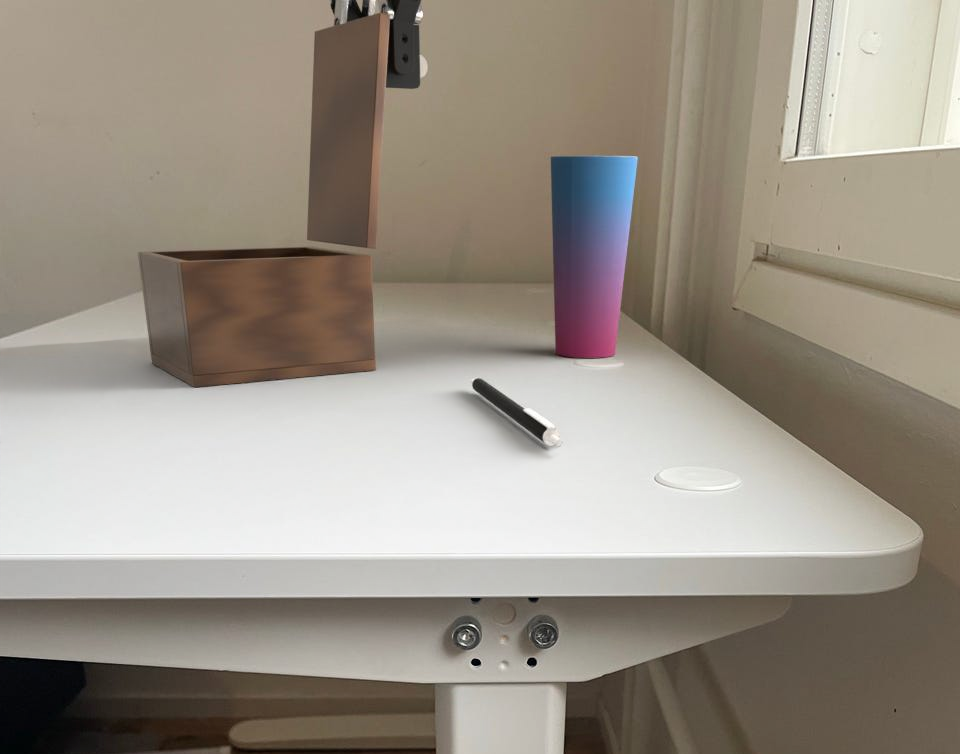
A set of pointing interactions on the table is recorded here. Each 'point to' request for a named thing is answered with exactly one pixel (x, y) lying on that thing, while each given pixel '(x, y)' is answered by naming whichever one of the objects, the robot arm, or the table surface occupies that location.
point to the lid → (348, 130)
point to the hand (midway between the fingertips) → (378, 88)
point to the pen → (519, 413)
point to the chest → (258, 313)
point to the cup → (590, 250)
